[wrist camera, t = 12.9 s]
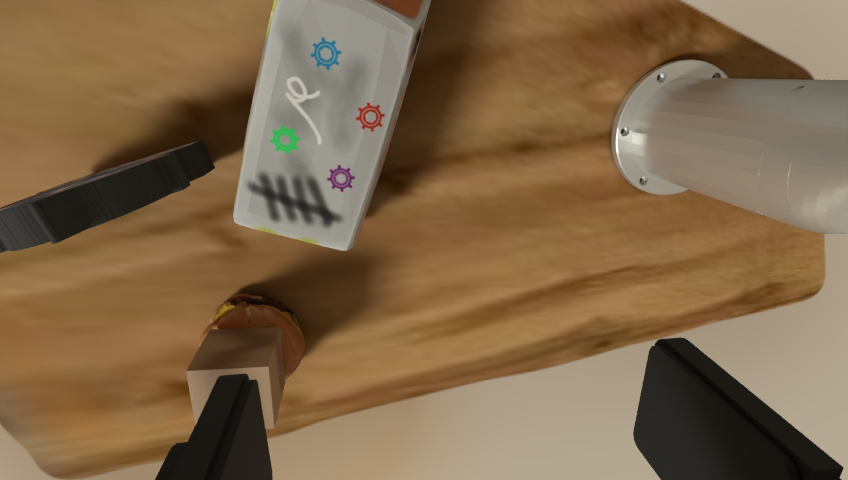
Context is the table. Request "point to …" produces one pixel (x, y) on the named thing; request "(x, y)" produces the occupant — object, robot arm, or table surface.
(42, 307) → the table surface
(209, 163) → the decorative emblem
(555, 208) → the table surface
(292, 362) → the burger
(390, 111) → the toy car
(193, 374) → the light brown cube
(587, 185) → the table surface
